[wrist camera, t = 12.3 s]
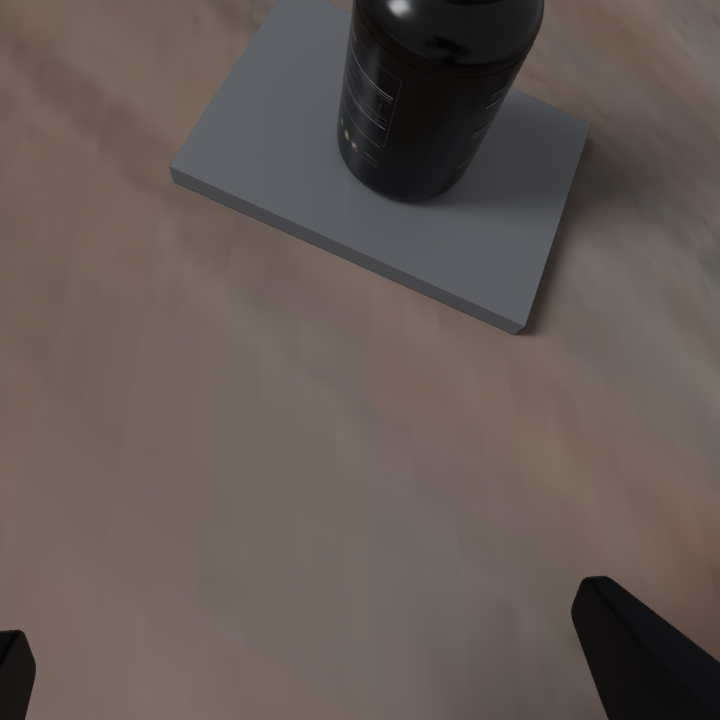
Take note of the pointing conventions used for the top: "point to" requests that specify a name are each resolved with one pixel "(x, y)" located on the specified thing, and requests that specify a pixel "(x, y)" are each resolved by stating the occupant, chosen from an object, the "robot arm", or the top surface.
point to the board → (359, 203)
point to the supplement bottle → (427, 87)
